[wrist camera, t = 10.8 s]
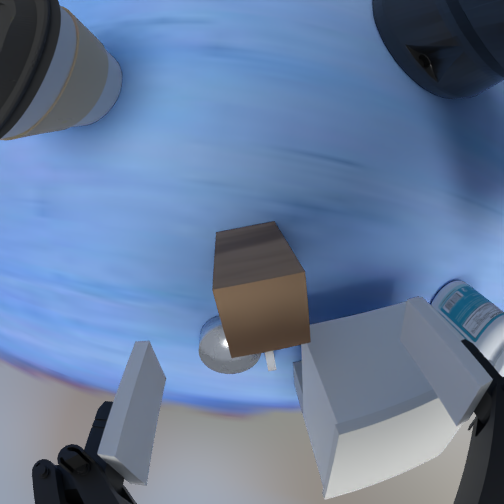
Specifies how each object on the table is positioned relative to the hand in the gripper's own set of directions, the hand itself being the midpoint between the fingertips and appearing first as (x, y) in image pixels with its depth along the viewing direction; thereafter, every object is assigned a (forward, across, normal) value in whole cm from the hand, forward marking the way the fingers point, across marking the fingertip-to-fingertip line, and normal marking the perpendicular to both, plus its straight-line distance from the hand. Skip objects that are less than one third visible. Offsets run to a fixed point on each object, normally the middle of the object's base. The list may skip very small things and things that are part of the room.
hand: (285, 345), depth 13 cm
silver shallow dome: (+13, -4, -9) cm, 16 cm away
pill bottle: (+14, +23, -12) cm, 29 cm away
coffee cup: (+13, -13, +17) cm, 25 cm away
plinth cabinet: (+13, +8, -12) cm, 19 cm away
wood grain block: (+13, -1, -5) cm, 14 cm away
